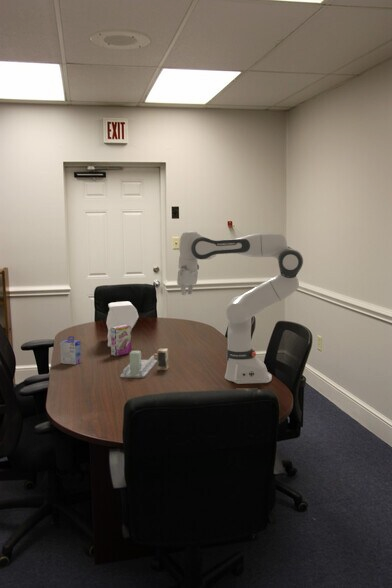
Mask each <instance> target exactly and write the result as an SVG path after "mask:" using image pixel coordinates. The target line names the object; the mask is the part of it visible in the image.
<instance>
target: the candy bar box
mask: <svg viewBox="0 0 392 588" xmlns="http://www.w3.org/2000/svg"><path fill="white" fill-rule="evenodd" d="M131 351H132V330H131V326H129V325H121V326H116V327H111V347H110V354H111V356H114V357H119V356H124V355H127V354H130V352H131Z"/></svg>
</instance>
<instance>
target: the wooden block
mask: <svg viewBox="0 0 392 588" xmlns="http://www.w3.org/2000/svg"><path fill="white" fill-rule="evenodd" d="M156 352H157V353H156V354H157V370H158V371H167V370H168V369H169V348H159V349H158V350H157V351H156Z"/></svg>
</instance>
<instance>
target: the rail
mask: <svg viewBox="0 0 392 588" xmlns="http://www.w3.org/2000/svg"><path fill="white" fill-rule="evenodd" d="M155 358H156V357H155V355H151V356H150V357H149V358H148V359H142V351H141V350H131V352H130V353H129V363H128V365H126V366H125V367H124V369H123V370H122V373H121V374H120V375H119V376H120V378H129V379H130V378H133V379H134V378H135V379H136V378H137V379H138V378H139V379H142V378H143V379H145V378H146V376H147V375H148V374H149V373H150V372H151V370H152V369H153V367H154V366H155V365H156V364H157V363H158V359H155Z"/></svg>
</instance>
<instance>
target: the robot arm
mask: <svg viewBox="0 0 392 588" xmlns="http://www.w3.org/2000/svg"><path fill="white" fill-rule="evenodd" d="M286 239H287V238H286V237H285V236H284V235H283V234H281V233H278V232H277V233H274V232H260V233H258V232H257V233H253V234H252V233H251V234H249V235H244V236H241V237H238V238H232V239H210V238H207V237H205V236H203V235H201V234H200V233H198V232H197V231H196V230H195V231H194V230H193V231H186V232H185V231H184V232H183V233H182V234H181V236H180V238H179V246H178V247H179V257H178V272H177V279H176V280H177V281H176V284H177V285H178V286H180V290H181V293H180V294H181V296H186V294H187V295H192V294H193V290H194V285H195V286H196V285H197V282H198V274H199V273H198V271H199V269H200V265H199V264H198V260H211V259H214V257H215V258H216V256H217V255H224V254H225V255H228V254H237V255H241V256H245V257H250V258H272V257H273V258H275V259H276V260H277V261H278V262H277V263H278V267H279V273H278V274H277V275H275V276H274V277H271V278H270V279H268V280H266V281H264V282H261V284H260V283H259V285H257V286H255V287H253V288H251V289H250V290H249V291H246V292H245V293H244V294H242V295H235V296H234V297H233V298H232V299H230V301H229V302H228V304H227V305H226V308H225V315H226V317H227V319H228V320H227V321H228V325H227V349H226V361H227V362H226V363H227V364H226V371H225V374H224V379H225V380H227V381H229V382H234V383H235V384H238V385H240V384H242V385H243V384H267V383H270V382H271V381H272V380H273V377H272V374H271V373H270V372H268V369H267V366H266V364H265V363H264V362H263V361H261V360H260V359H259V358H258V357H256V356H257V352H256V350H255V349H252V345H251V344H252V336H251V335H252V318H253V317H254V316H256V315H257V314H259V313H262V312H263V311H265V310H266V309H268V308H269V307H272V306H273V305H275V304H277V303H279V302H281V301H282V300H285V299H286V298H288V297H289V296H291V295H293V293H294V292H296V291H297V290H298V288H299V279H298V277H297V275H298V273H299V272H300V271H301V269H302V267H303V264H304V257H303V255H302V253H301V252H300V251H298V250H296V249H294V248H291V247H290V246H288V242H287V240H286ZM187 287H188V288H187ZM186 289H187V291H186Z"/></svg>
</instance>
